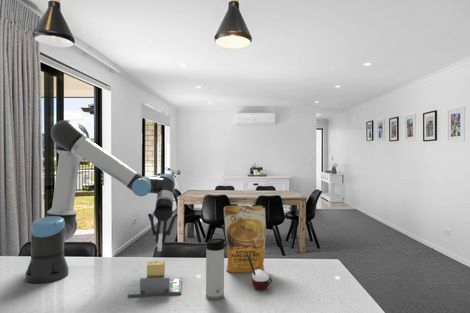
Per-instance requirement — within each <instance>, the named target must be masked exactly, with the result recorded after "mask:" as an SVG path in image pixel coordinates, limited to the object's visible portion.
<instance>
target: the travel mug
mask: <svg viewBox="0 0 470 313" xmlns="http://www.w3.org/2000/svg"><path fill="white" fill-rule="evenodd" d="M225 242H226V238H221V237H220V238H219V237H218V238H212V239H209V240H207V241H206V249H205V250H206V252H205V254H206V255H205V257H206V258H205V265H206V266H205V269H206V270H205V279H206V280H205V285H206V286H205V296H206V298H207V299H208V300H211V301H213V300H214V301H215V300H217V301H218V300H221V299H223V298H224V296H225Z"/></svg>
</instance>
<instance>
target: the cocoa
mask: <svg viewBox="0 0 470 313" xmlns="http://www.w3.org/2000/svg"><path fill="white" fill-rule="evenodd" d="M248 259H249V262H250V265H251V268H252V271H253V272H252V275H251V276H252V279H251V280H252V281H251V282H252V286H253V287H254V289H256V290H257V291H264V290H266V289H267V288H268V286H270V285H271V284H272V282H273V279H272V277H270V274H268V273H267V272H266V271H265V270H260V269H258V270H255V271H254V268H253V265H252V262H251V259H250V257H249V256H248Z"/></svg>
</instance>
